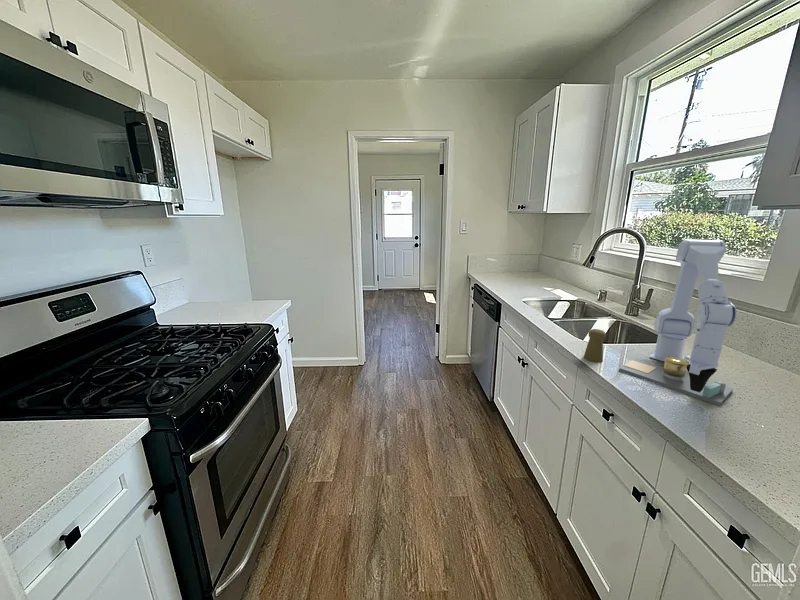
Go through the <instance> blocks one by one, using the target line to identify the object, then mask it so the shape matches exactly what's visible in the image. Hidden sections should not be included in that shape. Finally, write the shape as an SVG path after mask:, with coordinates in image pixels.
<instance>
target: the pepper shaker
mask: <svg viewBox="0 0 800 600" xmlns="http://www.w3.org/2000/svg"><path fill="white" fill-rule="evenodd" d="M606 336H607V334H606V331H604V330H603V329H600V328H599V329H597V328H593V329H590V330H589V332H588V337H589V340H588V343H587V345H586V349H585V351H584V355H583V359H584V360H585V361H586V362H587V361H588V362H590V363H597V364H599V363H602V362H603V361H604V360H603V359H604V340H605V339H606Z"/></svg>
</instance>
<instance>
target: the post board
mask: <svg viewBox="0 0 800 600" xmlns="http://www.w3.org/2000/svg"><path fill="white" fill-rule="evenodd" d="M663 368H664V366H661V365H658V364H654V363H651V362H648V361H644V360H642V359H638V358H634V359H633V360H630V361H629V362H627V363H625V364H623V365H622V366H620V367H619V369H618V371H619V372H620V373H625V374H627V375H629V376H630V375H631V376H633V377H636V378H639V379H642V380H644V381H647V382H649V383H653V384H656V385H659V386H661V387H664V388H668V389H670V390H673V391H676V392H679V393H682V394H685V395H688V396H690V397H694V398H697V399H699V400H702V401H705V402H708V403H711V404H714V405H717V406H721V405H722V404H723V403H724V402H725V401H726V399H727V398H728V397H729V396H730V395H731V394H732V393H733V390H734V388H732V387H729V386H726V387H725V390H724V393H719V394H716V395H714V396H712V397H709V398H707V397H705V396H702V394H703V390H704V388H703V389H702V391H701V392H696V391H693V390H691V388H690V376H689V374H687V373H686V375H685V377H674V376H670V375H668V374H666V373H664V372H663ZM713 383H714V381H709V380H708V381H707V383H706V384H705V386H708V385H710V384H713ZM705 386H704V387H705Z"/></svg>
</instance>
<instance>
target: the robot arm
mask: <svg viewBox="0 0 800 600" xmlns="http://www.w3.org/2000/svg"><path fill="white" fill-rule="evenodd" d="M726 248H727V247H726V242H724V240H722V239H717V240H715V239H714V240H713V239H712V240H711V239H710V240H709V239H688V238H685V239H682V240H681V242H680V243H679V244H678V247H677V251H676V255H675V262H676V263H680V268H679V272H678V277H677V281H676V284H675V288H674V291H673V296H672V299H671V303H670V307H668V308H664V309H663V310H662V309H661V310H659V312H657V313H658V314H657V317H656V318H655V320H654V328H653V329H654V331H655V332H656V334H657V340H656V345H655V349H654V353H652V354H651V355H649V358H651V359H654V360H657V361H661V362H664V363H665V357H666V356H674V357H679V358H683V359H685V360H687V361H689V364H688V365H687V372H688V375H689V376H690V388H691V390H693V391H696V392H701V391H702V389H703V388H704V386H705V384H706V383H707V381H709V379H710V378H711V377H712V376H713V375H715V373H716V372H717V371H718V369H717V368H719V365H720V364H719V360H720V357H721V353H722V349H723V345H724V342H725V339H726V338H725V337H726V334H727V331H728V327H730V326H733V324H734V323H735V321H736V318H737V307H736V305H735V304H734V303H732V301H731V300H729V298H728V297H729V296H728V293H727V288H726V287H727V286H726V283H725V282H724V281H722V280H720V278H719V263H720V262H721V261H722V258H723V257H724V255H725V253H726ZM698 276H699V278H700V281H701V282H700V283H699V284H698V285H697V287H696V288H697V293H698V301H699V305H698V308H697V310H696V318H695V316H694V315H693V314H692V313H691V312H690V311H689V309H690V305H691V300H692V297H693V294H694V290H695V286H696V283H697V280H698ZM695 321H696V323H695ZM695 325H696V326H695ZM695 328H697V329H696V333H695V337H694V340H693V344H692V347H691V348H692V349H691V353H690V355H688V354H686V355H685V356H683V355H684V354H683V353H684V348H685V345H686V340H687V339H688V338H689V337H691V336H692V335H693V334H694V331H695Z"/></svg>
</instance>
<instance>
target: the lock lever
mask: <svg viewBox="0 0 800 600" xmlns="http://www.w3.org/2000/svg"><path fill="white" fill-rule="evenodd" d="M725 387H727V383H725V382H724V381H720V380H715V381H713V384H710V385H708V386H705V387H704V390H703V394H702V396H705V397H707V398H709V397H712V396H714V395H716V394H719V393H724V390H725Z"/></svg>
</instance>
